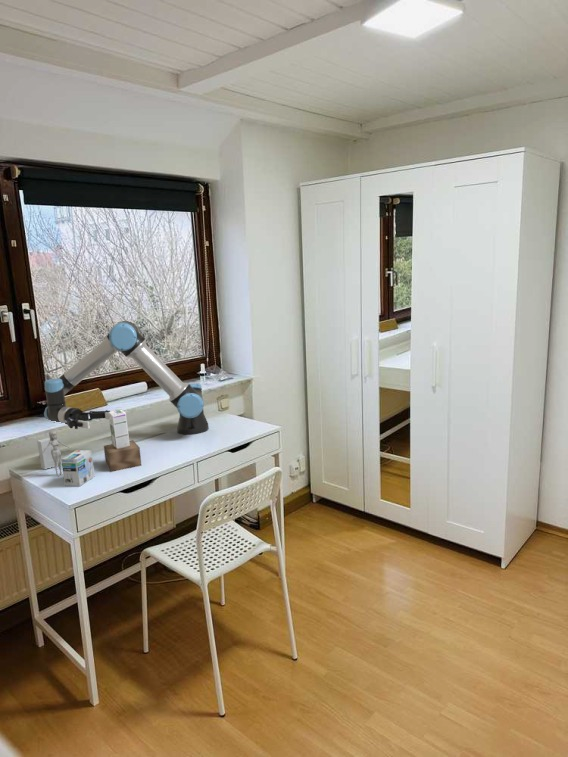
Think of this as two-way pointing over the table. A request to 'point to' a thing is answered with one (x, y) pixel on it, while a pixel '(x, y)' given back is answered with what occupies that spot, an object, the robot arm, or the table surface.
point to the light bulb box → (78, 468)
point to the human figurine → (55, 450)
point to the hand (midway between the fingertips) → (102, 421)
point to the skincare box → (45, 454)
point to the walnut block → (122, 457)
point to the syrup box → (119, 429)
